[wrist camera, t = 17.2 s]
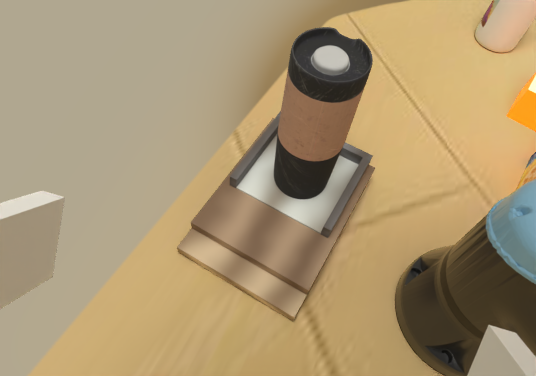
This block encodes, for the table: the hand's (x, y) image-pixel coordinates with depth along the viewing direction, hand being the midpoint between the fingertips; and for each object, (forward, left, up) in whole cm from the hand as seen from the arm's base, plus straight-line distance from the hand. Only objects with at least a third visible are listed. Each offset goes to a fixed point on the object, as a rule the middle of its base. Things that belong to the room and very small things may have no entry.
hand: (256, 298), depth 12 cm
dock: (-9, -22, -36) cm, 43 cm away
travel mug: (-11, -25, -33) cm, 43 cm away
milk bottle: (-55, -54, -36) cm, 85 cm away
